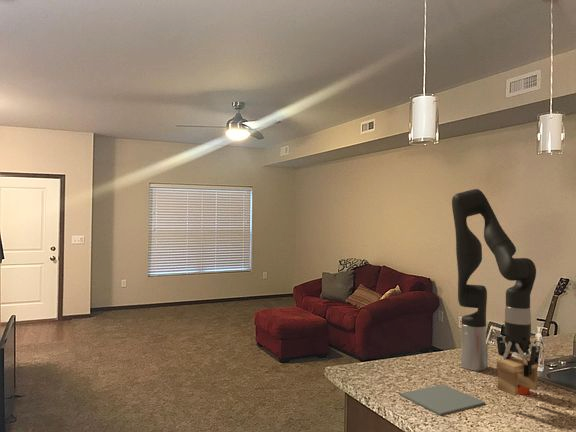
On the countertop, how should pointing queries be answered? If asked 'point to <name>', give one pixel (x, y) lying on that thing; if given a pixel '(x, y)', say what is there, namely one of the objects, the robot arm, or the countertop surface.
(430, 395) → the mat
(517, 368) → the tan wooden block
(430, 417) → the countertop surface
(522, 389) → the paper cup
